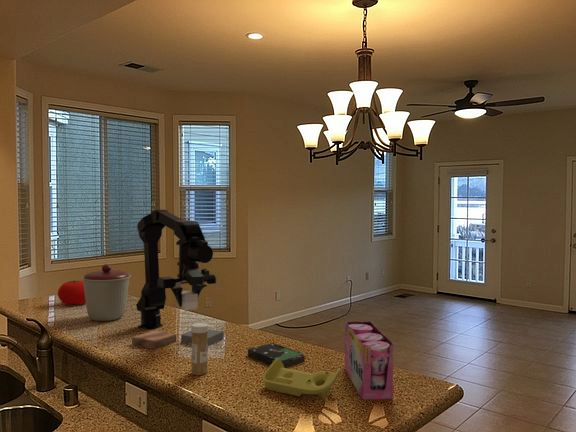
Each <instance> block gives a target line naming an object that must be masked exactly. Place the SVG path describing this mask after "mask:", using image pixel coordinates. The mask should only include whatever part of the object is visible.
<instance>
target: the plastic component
mask: <svg viewBox="0 0 576 432" xmlns="http://www.w3.org/2000/svg"><path fill="white" fill-rule="evenodd" d="M341 372H342V369H341V368H340V369H339V368H338V369H337V370H336V372H331V371H329V370H327V371H326V370H319V371H315V372H313V373H312V372H306V371H301V370H297V369H290V368H287V367H284V365H283V363H282V362H281V360H280V359H275V360H274V362H273V363H272V364H271V365H269V367H268V368H267V369H266V370H265V372H263V374H262V381H263V383H264V386H265V388H266V389H267V390H269V391H273V392H277V393H281V394H285V395H286V394H287V395H291V396H296V397H301V396H302V395H303V394H305V395H317V397H318V398H319V399H320V398H321V399H325V398H329V395H330V394H331V393H332V392H331V389H330V388H332V386H333V385H334V384H335V382H336V380H337V379H338V377H339V376H340V374H341Z"/></svg>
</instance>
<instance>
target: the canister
mask: <svg viewBox="0 0 576 432" xmlns="http://www.w3.org/2000/svg"><path fill="white" fill-rule="evenodd" d="M131 277H132V275H131V274H130V273H127V271H123V270H116V269H115V270H114V269H113V270H112V265H110V264H108V263H107V264H106V263H105V264H103V265H102V266H101V270H94V271H91V272H87V273H85V275H82V276H80V278H81V281H83V282H84V291H85V300H86V303H85V305H86V313H87V316H88V317H89V319H91V320H93V321H96V322H107V321H108V322H110V321H115V320H118V319H121V318H122V317H124V314H125V312H126V308H127V302H128V301H127V300H128V293H129V283H130V278H131Z"/></svg>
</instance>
